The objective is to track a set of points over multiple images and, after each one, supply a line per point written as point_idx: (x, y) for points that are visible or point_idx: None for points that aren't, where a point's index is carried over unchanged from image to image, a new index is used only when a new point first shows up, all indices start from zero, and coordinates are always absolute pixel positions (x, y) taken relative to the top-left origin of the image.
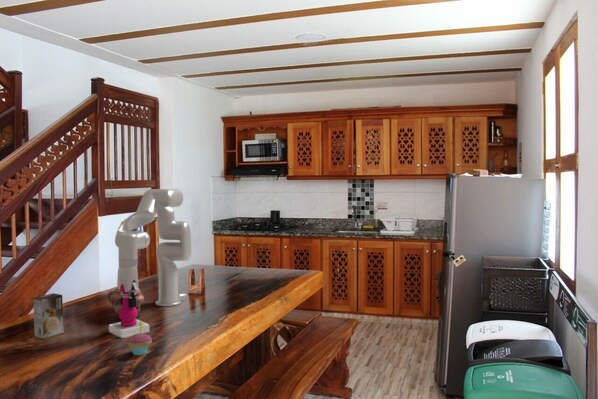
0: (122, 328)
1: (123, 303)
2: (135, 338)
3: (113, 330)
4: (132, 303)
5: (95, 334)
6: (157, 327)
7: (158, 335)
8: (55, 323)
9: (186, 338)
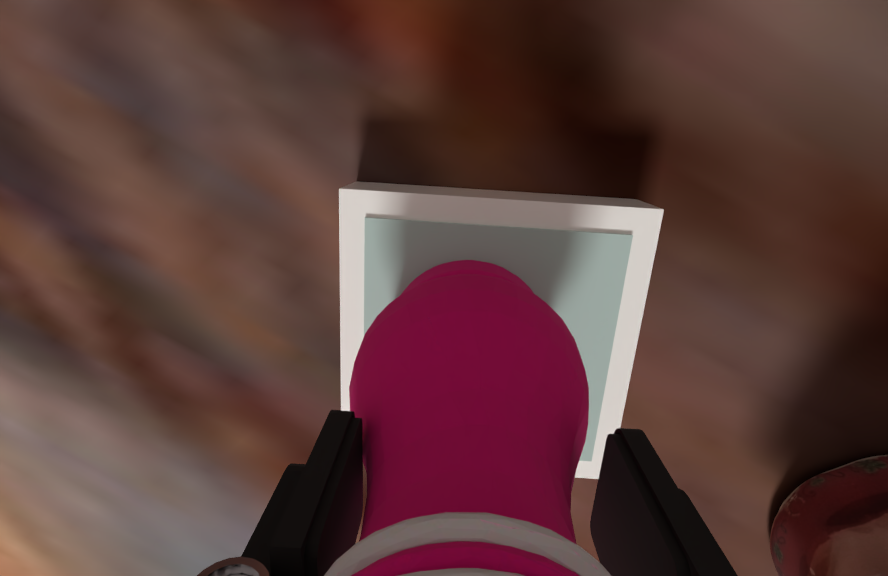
0: (405, 231)
1: (470, 423)
2: None
3: (540, 196)
4: (275, 504)
5: (675, 59)
6: None
7: (221, 414)
8: None
9: (29, 492)
